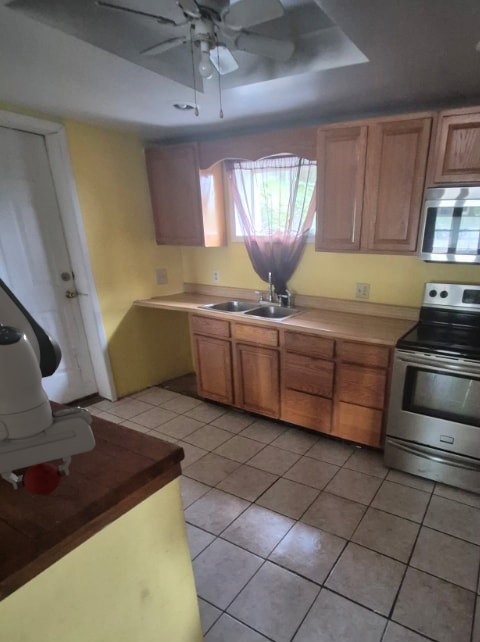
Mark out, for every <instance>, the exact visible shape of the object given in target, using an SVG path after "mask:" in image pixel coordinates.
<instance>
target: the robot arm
mask: <svg viewBox="0 0 480 642" xmlns="http://www.w3.org/2000/svg"><path fill="white" fill-rule="evenodd" d="M27 309H28V308H26V307H25V306H24V305H23V303H22V302H21V301H20V299H19V297H17V296H16V294H15V293H14V292H13V291H12V290H11V289H10V287H9V286H8V285H7V284H6V283H5V281H4V280H3V279H2V277H0V476H1V478H2V479H4V480H5V481H6V482H8V483H10V484H12V486H13V490H19V489H22V488H25V486H24V476H23V475H17V474H15V473H13V471H16V470H19V469H24V468H28V467H31V466H33V465H36V464H40V463H44V462H45V463H49V462H53V461H56V460H59V459H62V462H63V463H62V464H60V465H57V469H58V471H59V473H60V477H61V478H63V477H67V476H69V475H70V471H69V467H70V465H71V462H72V460H73V459H72V457H73V456H76V455H79V454H83V453H88V452H91V451H93V450H94V448H95V447H96V445H97V444H96V440H95V436H94V433H93V430H92V427H91V424H92V423H93V417H92V412H90V410H89V409H87V408H83V407H81V406H74V407H71V408H66V409H59V410H54V411H52V407H51V403H50V399H49V396H48V394H47V392H46V391H45V389H44V386H43V382H42V381H43V380H42V379H44V378H48V377H52V376H53V375H54V374H55V373H56V372H57V370H58V368H59V366H60V364H61V362H62V358H63V353H62V350H61V347H60V345H59V343H58V342H57V340H56V339H55V338H54V336H53V335H51V334H50V333H49V332H48V331H47V330H46V329H45V328H44V327H43V326H42V325H40V323H39V322H38V321H37V320H36V319H35V318H34V317H33V315H32V314H31V313H30V312H29V311H28V310H27Z"/></svg>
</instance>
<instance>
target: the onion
mask: <svg viewBox="0 0 480 642" xmlns="http://www.w3.org/2000/svg"><path fill="white" fill-rule="evenodd" d="M58 469H59V468H58V467H56V466H55V465H54V464H52V463H49V462H44V463H40V464H36V465H32V466H29V468H28V469H27V471H26V472H25V474H24V476H23V480H24V486H25V487H24V488H25V490H26V491H28V492H29V493H30V494H32V495H37V496H44V497H45V496H49V495H50V494H51V493H53V492H54V491H55V490H56V489H57V488H58V487H59V485H60V483H61V480H62V477H60V473H59V470H58Z"/></svg>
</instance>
